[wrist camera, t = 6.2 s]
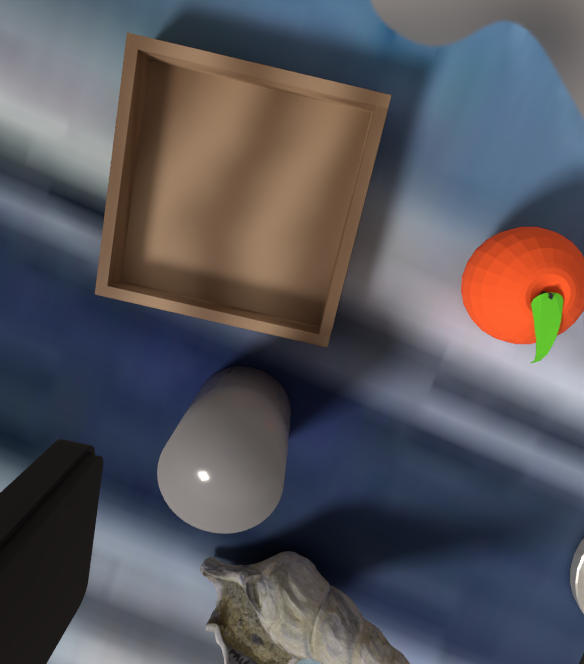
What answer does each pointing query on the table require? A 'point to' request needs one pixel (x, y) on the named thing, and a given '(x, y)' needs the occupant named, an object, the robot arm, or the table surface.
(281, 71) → the walnut tray
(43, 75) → the table surface
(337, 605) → the seashell
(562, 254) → the clementine
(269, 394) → the grey rounded cylinder
